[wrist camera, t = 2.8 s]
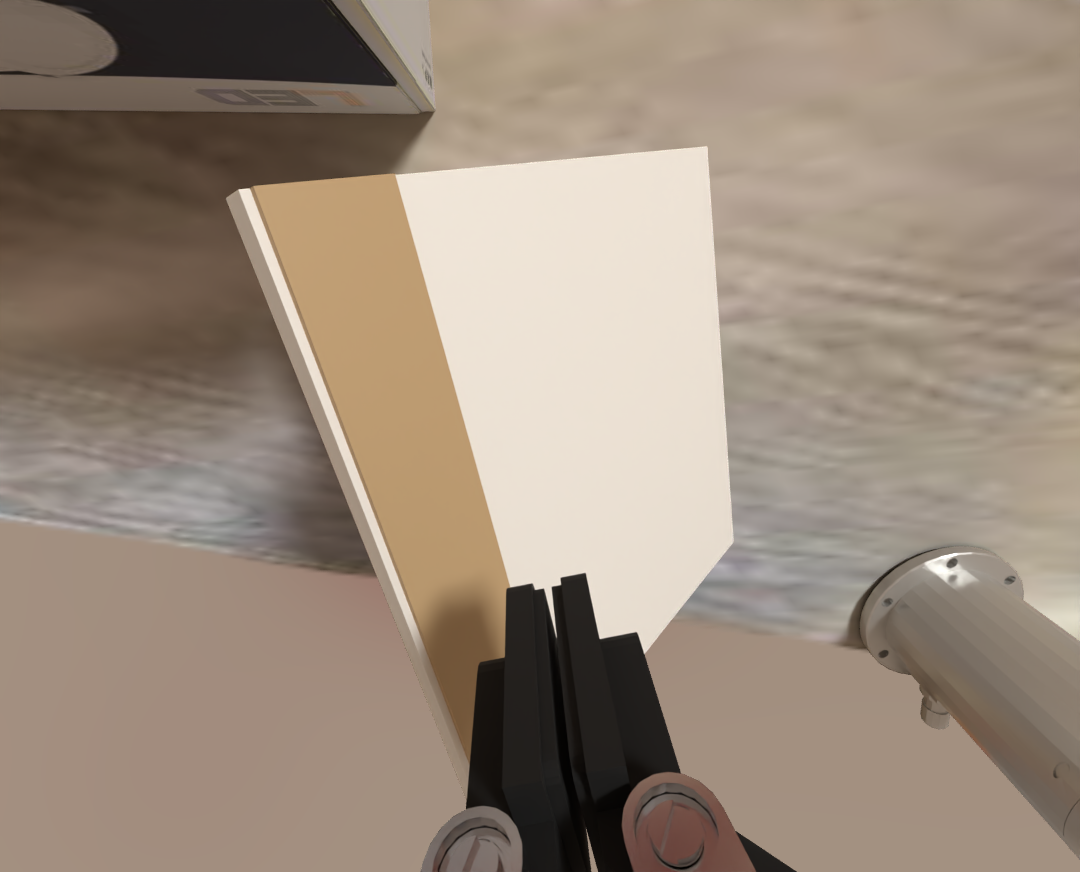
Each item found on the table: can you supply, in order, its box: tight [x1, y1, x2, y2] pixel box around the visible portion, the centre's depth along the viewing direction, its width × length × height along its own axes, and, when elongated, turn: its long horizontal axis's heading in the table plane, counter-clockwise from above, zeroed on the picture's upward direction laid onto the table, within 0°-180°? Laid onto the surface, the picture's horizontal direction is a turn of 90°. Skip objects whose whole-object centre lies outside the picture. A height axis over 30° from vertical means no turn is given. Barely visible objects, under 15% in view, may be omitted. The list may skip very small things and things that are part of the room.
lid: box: [226, 146, 734, 800], centre depth 19 cm, size 20×18×1 cm
